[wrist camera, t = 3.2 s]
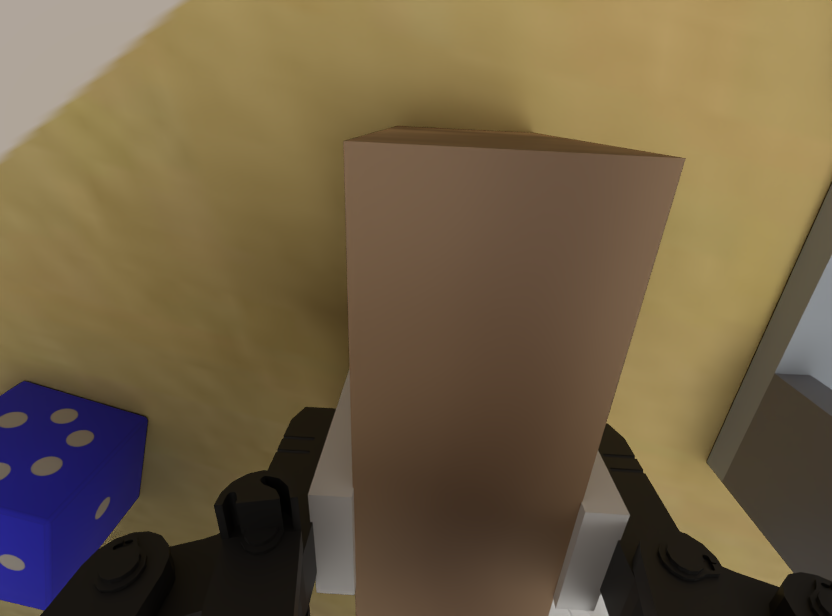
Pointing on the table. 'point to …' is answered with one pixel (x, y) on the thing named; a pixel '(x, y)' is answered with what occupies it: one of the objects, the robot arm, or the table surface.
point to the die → (60, 486)
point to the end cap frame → (789, 417)
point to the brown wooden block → (486, 353)
